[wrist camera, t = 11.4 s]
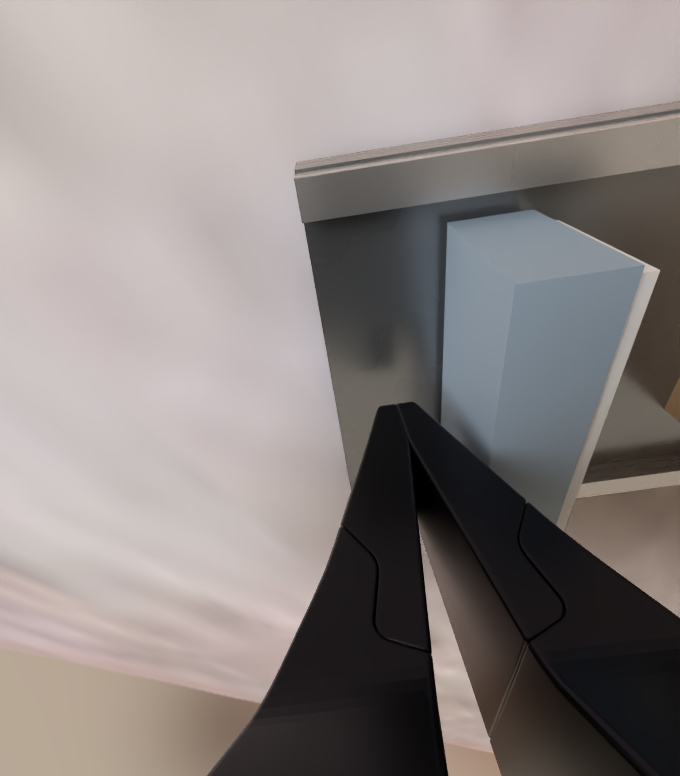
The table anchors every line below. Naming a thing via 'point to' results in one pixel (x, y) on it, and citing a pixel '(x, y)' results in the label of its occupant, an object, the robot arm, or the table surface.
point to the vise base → (481, 199)
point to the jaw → (536, 347)
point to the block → (674, 402)
